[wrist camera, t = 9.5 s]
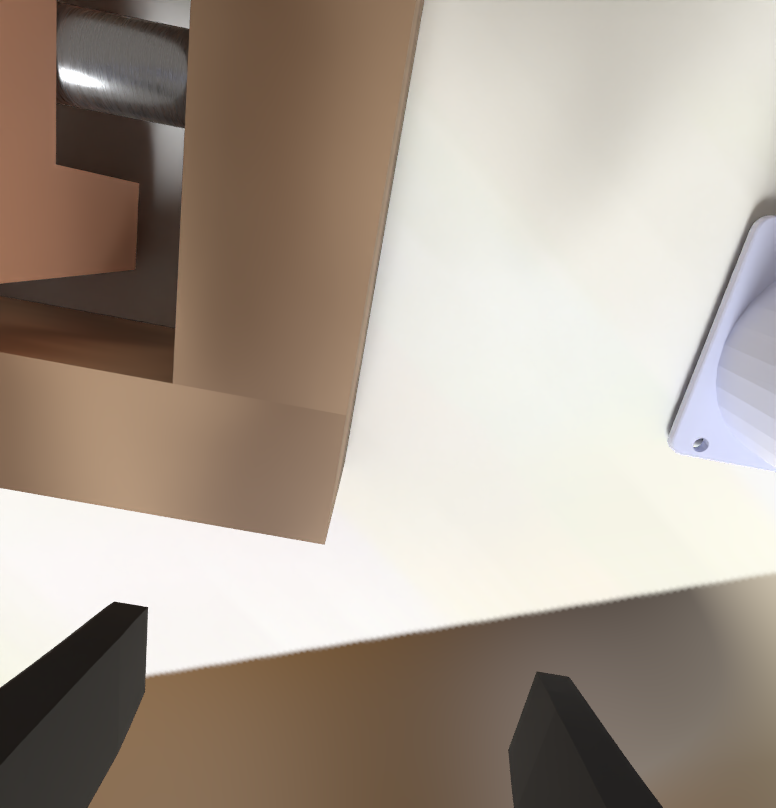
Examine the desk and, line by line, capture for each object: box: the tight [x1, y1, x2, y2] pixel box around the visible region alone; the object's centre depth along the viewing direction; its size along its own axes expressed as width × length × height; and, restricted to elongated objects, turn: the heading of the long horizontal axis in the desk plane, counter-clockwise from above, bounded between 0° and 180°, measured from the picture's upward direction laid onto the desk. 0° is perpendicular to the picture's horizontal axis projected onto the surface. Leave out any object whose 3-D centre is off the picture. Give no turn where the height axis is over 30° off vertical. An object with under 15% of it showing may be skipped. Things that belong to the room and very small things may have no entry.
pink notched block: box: [0, 0, 139, 284], centre depth 12 cm, size 4×10×6 cm, turn 170°
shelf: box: [0, 0, 424, 545], centre depth 14 cm, size 18×22×5 cm
